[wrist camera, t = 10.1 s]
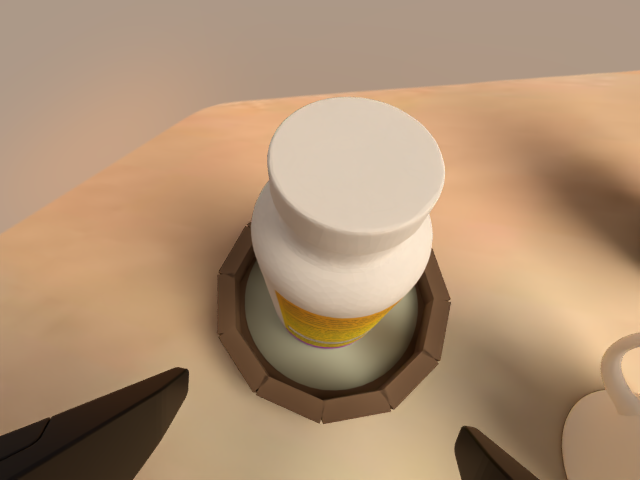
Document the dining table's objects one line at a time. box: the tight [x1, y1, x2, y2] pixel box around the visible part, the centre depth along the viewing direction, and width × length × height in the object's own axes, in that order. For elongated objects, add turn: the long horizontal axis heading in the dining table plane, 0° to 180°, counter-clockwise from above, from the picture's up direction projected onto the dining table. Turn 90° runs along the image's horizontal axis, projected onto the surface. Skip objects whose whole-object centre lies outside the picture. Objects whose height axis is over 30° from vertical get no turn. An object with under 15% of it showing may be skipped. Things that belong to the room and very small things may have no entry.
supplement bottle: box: [251, 97, 445, 350], centre depth 13 cm, size 7×7×13 cm
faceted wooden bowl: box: [218, 222, 451, 424], centre depth 19 cm, size 14×14×2 cm
